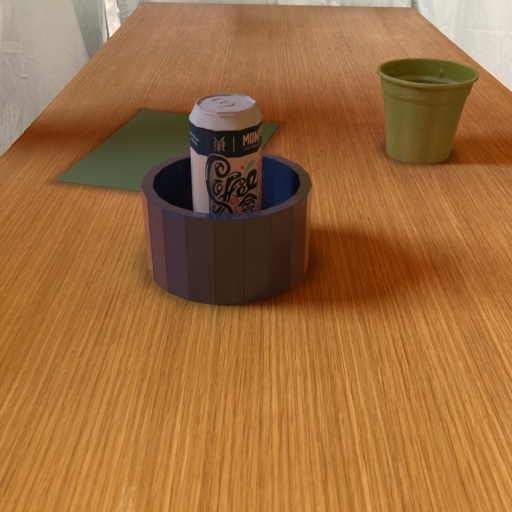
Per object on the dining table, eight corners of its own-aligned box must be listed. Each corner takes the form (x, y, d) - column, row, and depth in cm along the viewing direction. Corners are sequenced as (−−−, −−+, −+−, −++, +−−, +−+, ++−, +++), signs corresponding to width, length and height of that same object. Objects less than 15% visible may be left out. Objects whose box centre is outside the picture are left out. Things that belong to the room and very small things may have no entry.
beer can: (223, 286, 48) (219, 120, 42) (182, 259, 51) (173, 100, 45) (274, 262, 51) (277, 103, 45) (232, 238, 54) (230, 86, 48)
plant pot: (351, 146, 71) (358, 62, 67) (427, 134, 75) (439, 53, 70) (402, 182, 64) (414, 89, 60) (484, 166, 67) (501, 77, 63)
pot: (123, 296, 48) (112, 206, 44) (181, 220, 57) (177, 141, 54) (287, 323, 45) (291, 229, 42) (320, 239, 55) (325, 157, 51)
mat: (56, 186, 63) (55, 180, 62) (143, 115, 79) (143, 110, 79) (225, 207, 59) (225, 201, 59) (279, 128, 76) (279, 123, 76)
